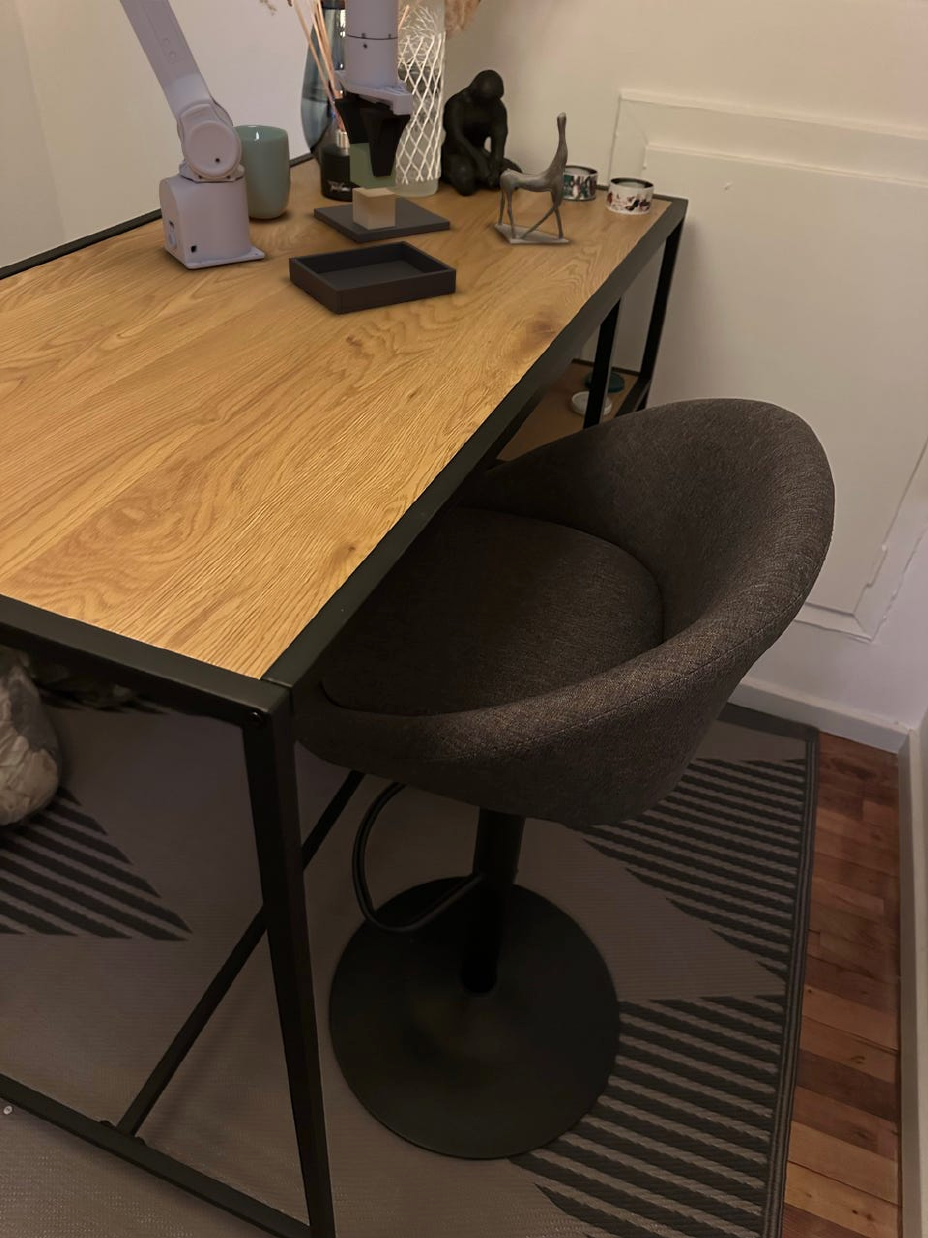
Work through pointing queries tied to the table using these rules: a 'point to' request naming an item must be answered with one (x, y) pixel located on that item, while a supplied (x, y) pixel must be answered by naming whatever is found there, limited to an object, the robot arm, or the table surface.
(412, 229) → the board
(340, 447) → the table surface
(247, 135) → the cup
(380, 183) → the sage block
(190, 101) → the robot arm
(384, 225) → the cream block
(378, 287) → the tray
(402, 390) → the table surface
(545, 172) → the figurine
